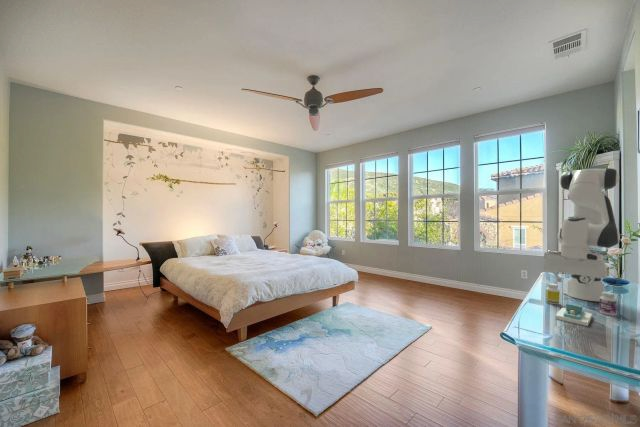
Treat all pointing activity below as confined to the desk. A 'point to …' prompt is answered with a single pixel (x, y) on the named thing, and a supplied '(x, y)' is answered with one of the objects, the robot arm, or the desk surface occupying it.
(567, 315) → the teal bar
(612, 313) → the pill bottle
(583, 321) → the post board
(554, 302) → the supplement bottle
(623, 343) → the desk surface
